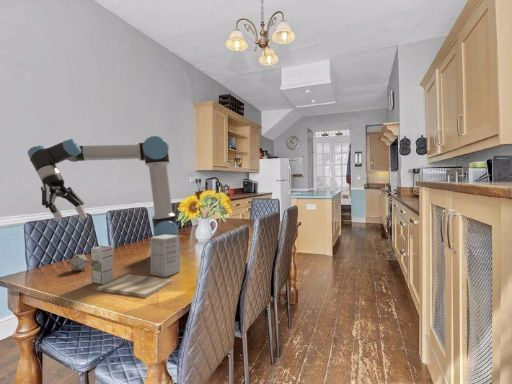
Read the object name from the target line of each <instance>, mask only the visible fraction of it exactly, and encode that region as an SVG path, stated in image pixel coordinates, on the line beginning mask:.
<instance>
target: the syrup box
mask: <svg viewBox="0 0 512 384" xmlns="http://www.w3.org/2000/svg"><path fill="white" fill-rule="evenodd" d="M113 249H114V248H113V246H109V245H99V246H98V245H97V246H95V247H91V249H90V252H91V255H90V256H91V283H92V284H97V285H104V284H107V283H109V282H112V281H114V266H113V265H114V264H113V263H114V262H113V261H114V259H113V257H114V256H113V255H114V254H113Z"/></svg>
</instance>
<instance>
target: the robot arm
mask: <svg viewBox="0 0 512 384" xmlns="http://www.w3.org/2000/svg"><path fill="white" fill-rule="evenodd" d="M27 155H28V158H29V160H30V162H31V164H32V165H33V168H34V169H35V171H36V173H37V175H38V177H39V178H40V181H41V184H42V186H40V191H41V205H42V206H43V207H44V208H46V209H48V208H49V211H50V212H51V214H52V215H53V217H54V219H55V222H58V221H60V220H62V219H63V218H64V216H63V214H62V213H61V210H60V209H59V207H58V205H57V203H55V202H56V199H57V197H59V198H62V199H65V200H67V201H68V202H69V203H70V204H71V205H73V206H74V209H75V210H76V213H77V214H78V216H79V218H80V220H81V221H83V220H85V219H86V218H88V215H87V213H86V212H85V209H84V207H83V205H84V204H85V202H84V200H82V198H80V197H79V196H78V195H77V194H76V193H75V191H74V190H73V188H72V187H70V186H68V187H66V186H65V180H64V178H63V176H62V175H61V172H60V169H59V168H58V167H57V164H58V163H59V164H60V163H61V162H63V161H70V162H72V163H75V162H83V161H85V162H86V161H106V160H107V161H109V160H110V161H111V160H116V161H117V160H139V161H141V162H142V161H143V162H144V163H145V164H144V165H146V166H147V167H148V169H149V170H148V171H149V179H150V185H151V186H150V188H151V194H152V195H151V196H152V201H153V202H152V203H153V210H154V214H153V216H152V217H151V219H152V228H153V229H152V230H153V235H152V237H155V236H160V235H165V234H166V235H176V236H179V228H178V224H177V217H176V215H177V214H176V213H174V211H173V208H172V207H173V206H172V201H171V199H172V198H171V192H170V190H171V189H170V184H169V183H170V182H169V175H168V165H169V164H170V156H169V144H168V142H167V141H166V140H165V138H163V137H161V136H159V135H152V136H148V137H147V138H146V139H145V140H144V141H143V142H138V143H137V144H116V145H115V144H113V145H112V144H111V145H110V144H108V145H107V144H105V145H104V144H103V145H101V144H100V145H79V144H78V143H77V141H76V140H75V139H73V138H70V139H66V140H63V141H62V142H59V143H57V144H54V145H52V146H50V147H46V146H44V145H37V146H32V147H31V148H29V149H28V151H27ZM149 256H150V258H151V251H150V252H149Z"/></svg>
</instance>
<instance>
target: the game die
mask: <svg viewBox="0 0 512 384" xmlns="http://www.w3.org/2000/svg"><path fill="white" fill-rule="evenodd" d="M86 254H87V252H84V254H80V253H79V254H75V253H73V256H72V257H71V259H70V260H69V261H67V262H66V263H67V264H69V266H70V268H71V273H73V272H74V271H83V272H85V271H86V270H85V269H86V267H87V266H88V264H89V263H91V261H89V259H88V257H87V255H86Z"/></svg>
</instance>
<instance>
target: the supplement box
mask: <svg viewBox="0 0 512 384" xmlns="http://www.w3.org/2000/svg"><path fill="white" fill-rule="evenodd" d="M149 241H150V243H149V244H150V246H149V247H150V248H149V249H150V252H151V257H150V275H154V276H157V277H161V278H168V277H169V276H172V275H174V274H177V272H178V273H180V272H181V263H180V262H181V257H180V255H181V254H180V251H181V250H180V244H181V242H180V235H177V236H176V235H166V234H165V235H160V236H155V237H153V236H151V237H150V238H149Z"/></svg>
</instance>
